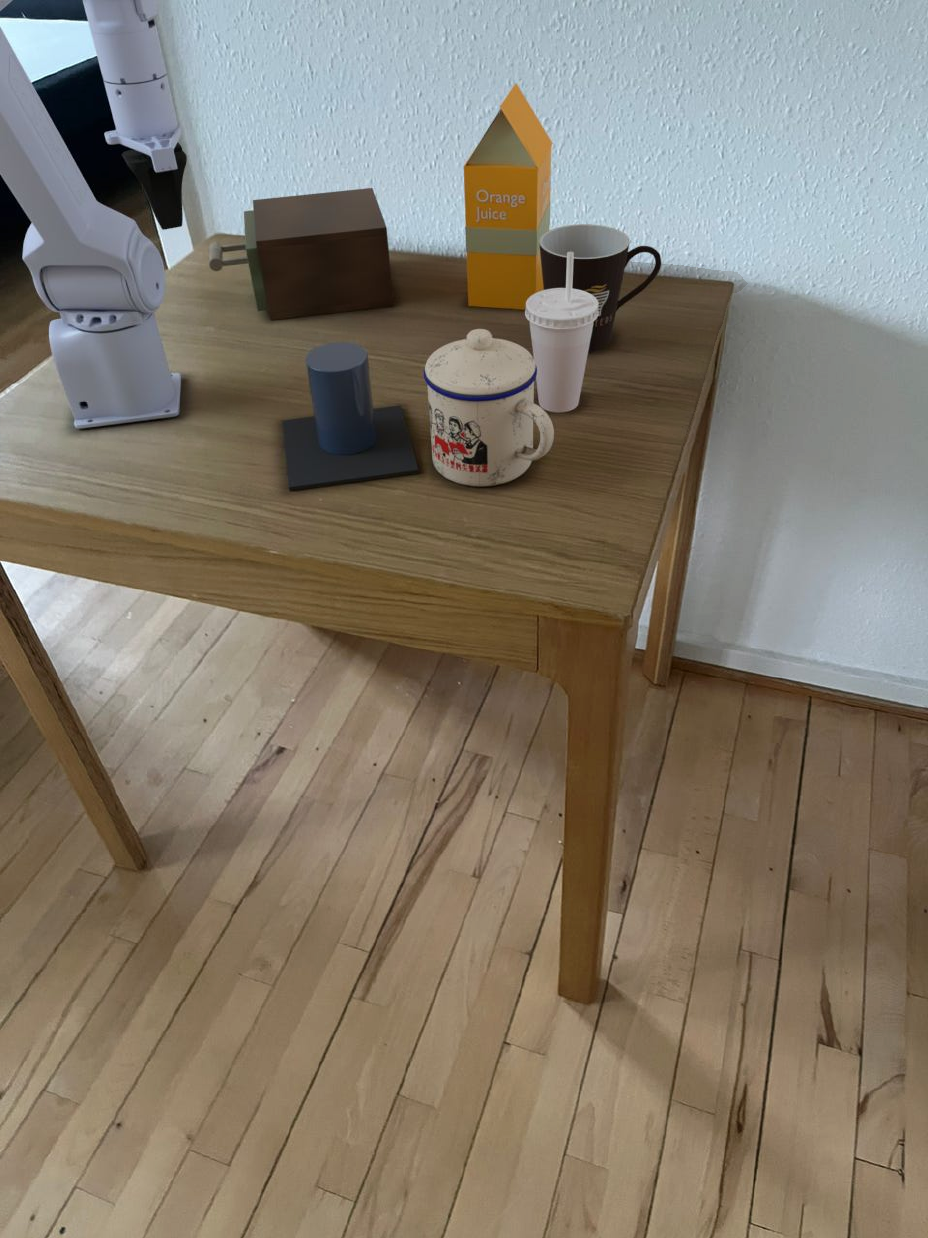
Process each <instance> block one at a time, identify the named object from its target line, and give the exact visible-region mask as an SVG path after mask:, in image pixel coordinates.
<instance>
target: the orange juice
mask: <svg viewBox="0 0 928 1238" xmlns="http://www.w3.org/2000/svg"><path fill="white" fill-rule="evenodd" d="M553 145H554V144H553V141H552V140H551V138H550V136H549V135H548V132H547V131H546V130H545V127H543V125H542V123H541V122H540V119H539V118H538V117H537V114H536V113H535V112H534V110H533V108H532V106H531V105H530V103H529V102H528V99H527V98H526V96H525V95H524V93H523V92H522V91H521V88H520V87H519V85H518V83H517V82H515V84H514V85H513V87H512V88H511V89H510V91H509V92H508V94H506V97H505V98H504V100H503V101H502V102H501V104H500V105H499V110H498V112H497V114H496V115H495V117H494V118H493V119H492V121H491V123H490V125H489V127H488V128H487V130H486V132H485V133H484V134H483V136H482V137H481V139H480V140H479V142H478V144H477V146H476V147H475V149H474V150H473V151H472V153H471V155H470V156H469V157H468V159H467V161H466V162H465V163H464V165H463V189H464V215H465V217H464V219H465V228H464V233H465V252H466V275H467V277H466V278H467V302H468V304H467V305H468V307H476V308H477V307H480V308H495V309H509V310H511V309H512V310H523V311H525V310H526V301H527V299H528V298H529V297H530V296H532V295H533V294H535V293H537V292H540V291H543V290H544V288H543V277H542V266H541V256H540V245H539V240H540V238H541V236H542V235H543V234H544V233H546V232H548V231H550V226H551V180H552V147H553Z"/></svg>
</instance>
